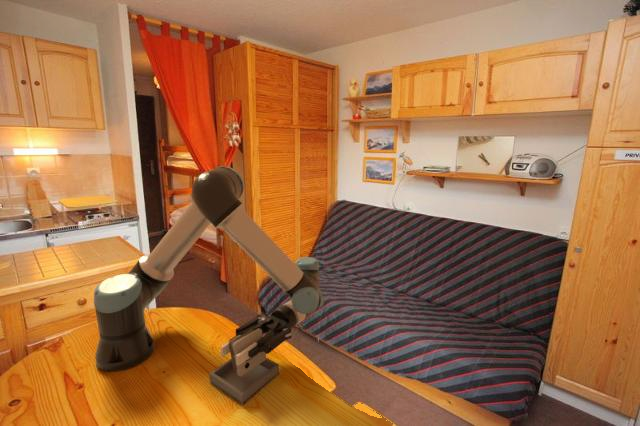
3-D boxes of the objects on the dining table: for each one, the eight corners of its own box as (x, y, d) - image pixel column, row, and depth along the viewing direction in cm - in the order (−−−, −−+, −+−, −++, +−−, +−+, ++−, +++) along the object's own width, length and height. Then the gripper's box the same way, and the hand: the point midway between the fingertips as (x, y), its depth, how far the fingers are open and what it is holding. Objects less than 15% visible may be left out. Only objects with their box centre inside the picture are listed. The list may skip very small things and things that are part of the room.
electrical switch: (239, 379, 84) (238, 347, 82) (227, 370, 87) (225, 339, 85) (266, 360, 91) (266, 330, 89) (254, 352, 94) (253, 323, 92)
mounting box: (210, 383, 88) (209, 373, 87) (247, 356, 99) (247, 347, 98) (242, 405, 81) (242, 395, 80) (279, 373, 92) (279, 364, 91)
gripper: (311, 336, 98) (255, 383, 79) (267, 317, 108) (207, 355, 89) (311, 314, 96) (254, 357, 78) (266, 296, 106) (206, 330, 87)
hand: (229, 355), depth 83 cm, fingers closed on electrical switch, 5 cm apart
